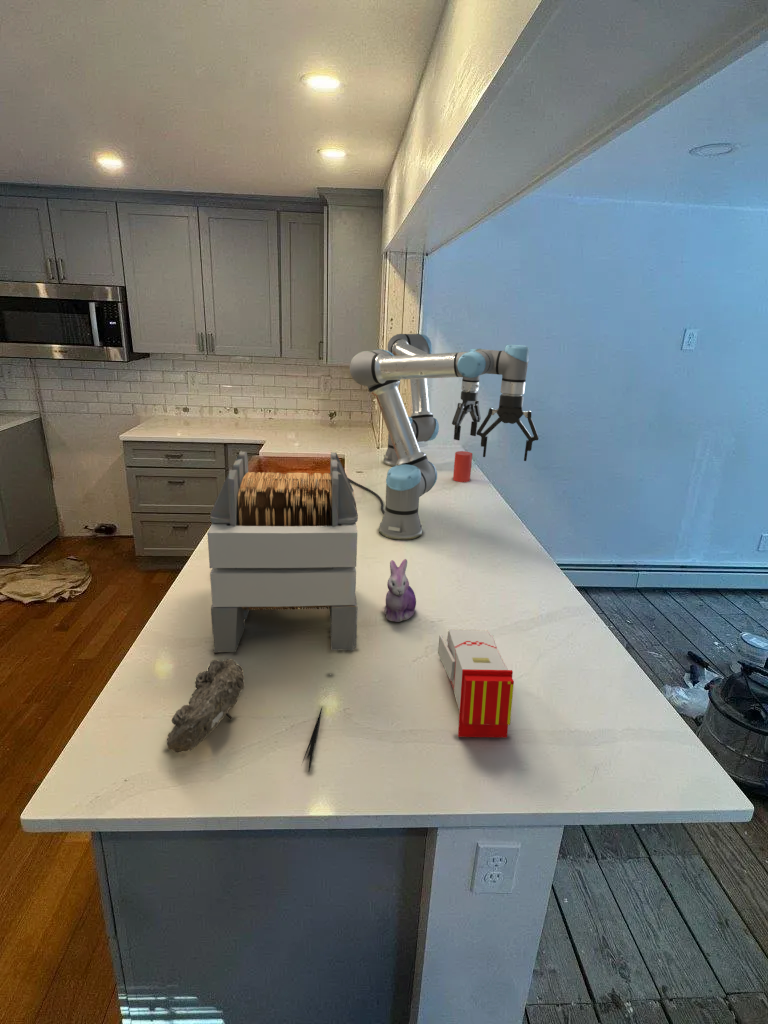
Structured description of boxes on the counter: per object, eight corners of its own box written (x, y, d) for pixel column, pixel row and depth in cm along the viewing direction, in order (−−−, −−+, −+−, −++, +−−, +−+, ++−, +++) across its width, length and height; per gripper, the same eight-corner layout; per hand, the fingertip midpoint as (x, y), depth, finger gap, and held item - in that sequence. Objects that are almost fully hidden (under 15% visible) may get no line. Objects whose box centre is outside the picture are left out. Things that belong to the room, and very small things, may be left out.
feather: (331, 679, 122) (336, 673, 122) (307, 777, 96) (313, 769, 95) (324, 675, 122) (329, 669, 121) (298, 772, 95) (304, 764, 95)
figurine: (392, 627, 141) (395, 572, 136) (374, 608, 149) (376, 556, 144) (425, 619, 145) (429, 566, 140) (405, 601, 154) (408, 550, 149)
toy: (488, 613, 130) (523, 677, 101) (484, 667, 133) (517, 744, 104) (435, 612, 130) (455, 676, 101) (432, 666, 133) (451, 743, 103)
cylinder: (471, 482, 264) (474, 455, 260) (454, 482, 264) (457, 455, 259) (467, 477, 272) (470, 451, 267) (451, 477, 271) (453, 450, 267)
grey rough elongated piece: (192, 660, 117) (244, 628, 112) (224, 691, 120) (276, 661, 115) (142, 746, 98) (202, 712, 93) (182, 779, 101) (242, 748, 96)
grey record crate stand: (232, 584, 158) (225, 442, 144) (349, 583, 162) (353, 444, 148) (211, 655, 127) (198, 480, 113) (357, 651, 130) (362, 482, 117)
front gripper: (551, 395, 185) (542, 459, 192) (474, 390, 190) (468, 452, 197) (552, 399, 178) (542, 464, 185) (472, 393, 183) (466, 457, 190)
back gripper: (461, 394, 242) (456, 443, 250) (491, 390, 260) (486, 435, 268) (446, 392, 247) (442, 440, 254) (477, 387, 265) (472, 432, 272)
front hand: (504, 458), depth 191 cm, fingers open, 13 cm apart
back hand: (464, 437), depth 261 cm, fingers open, 13 cm apart
